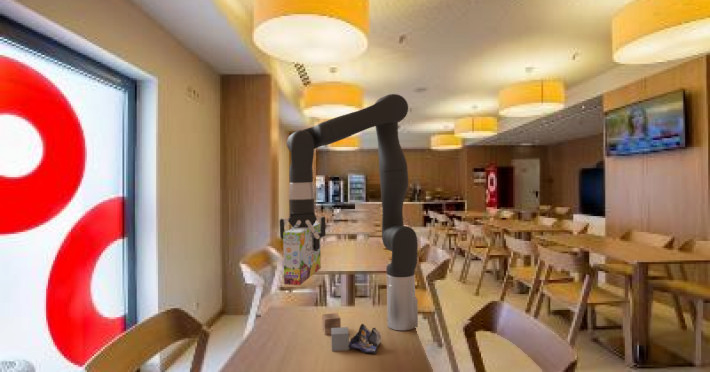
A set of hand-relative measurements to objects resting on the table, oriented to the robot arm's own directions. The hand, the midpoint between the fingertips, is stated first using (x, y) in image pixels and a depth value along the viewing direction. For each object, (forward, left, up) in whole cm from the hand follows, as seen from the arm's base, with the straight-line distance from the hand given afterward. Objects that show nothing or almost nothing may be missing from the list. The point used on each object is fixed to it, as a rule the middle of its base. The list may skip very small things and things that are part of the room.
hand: (303, 251), depth 131 cm
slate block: (-9, +8, -27) cm, 30 cm away
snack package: (-17, +10, -28) cm, 34 cm away
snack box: (0, 0, -8) cm, 8 cm away
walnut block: (-9, -5, -27) cm, 29 cm away
